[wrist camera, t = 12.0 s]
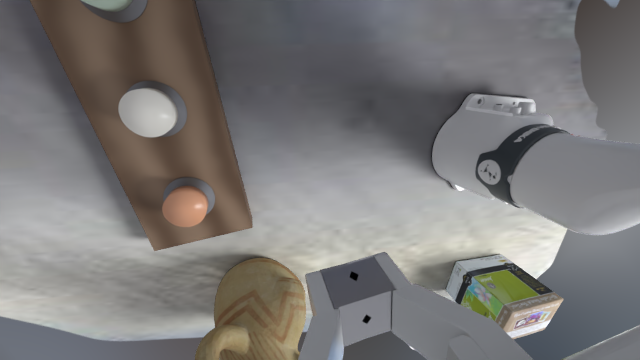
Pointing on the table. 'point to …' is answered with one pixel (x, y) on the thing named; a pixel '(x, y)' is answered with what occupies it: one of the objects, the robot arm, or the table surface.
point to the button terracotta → (185, 206)
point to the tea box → (503, 294)
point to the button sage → (109, 4)
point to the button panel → (172, 79)
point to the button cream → (148, 112)
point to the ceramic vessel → (256, 314)
